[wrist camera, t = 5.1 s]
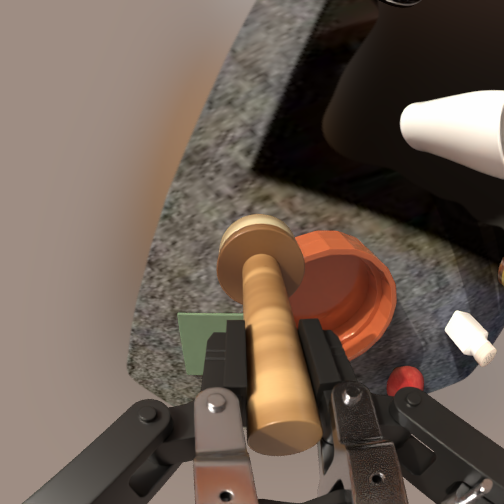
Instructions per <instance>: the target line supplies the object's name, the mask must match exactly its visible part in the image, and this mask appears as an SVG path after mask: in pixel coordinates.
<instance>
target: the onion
mask: <svg viewBox="0 0 504 504" xmlns="http://www.w3.org/2000/svg"><path fill="white" fill-rule="evenodd" d="M404 387H415V388H418V389H420V390H422V391H423V389H424V378H423V376H422V374H421V372H420V371H419V370H418V369H416V368H414V367H411V366H402V367H396V368H395V369H394V370H393V372H392V373H391V375H390V377H389V379H388V381H387V394H388V395H389V396H395V394H396V392H397V391H398V390H399V389H401V388H404Z"/></svg>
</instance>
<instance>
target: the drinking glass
mask: <svg viewBox="0 0 504 504" xmlns="http://www.w3.org/2000/svg"><path fill="white" fill-rule="evenodd" d="M400 128H401V132H402V135H403V137H404V139H405V140H406V142H407V143H408V144H409V145H410V146H411V147H412V148H414V149H416V150H419V151H423V152H428V153H431V154H434V155H437V156H440V157H443V158H446V159H448V160H451V161H454V162H456V163H459V164H462V165H464V166H466V167H469V168H471V169H474V170H476V171H479V172H481V173H484V174H487V175H490V176H493V177H496V178H500V179H503V180H504V91H503V90H485V91H484V90H483V91H474V92H469V93H463V94H458V95H453V96H449V97H444V98H439V99H435V100H431V101H426V102H418V103H413V104H410V105H409V106H407V107H406V108H405V110H404V111H403V113H402V116H401V120H400Z"/></svg>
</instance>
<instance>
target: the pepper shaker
mask: <svg viewBox="0 0 504 504" xmlns="http://www.w3.org/2000/svg"><path fill="white" fill-rule="evenodd" d="M445 332H446V333H447V334H448V335H449V337H450V338H451V339H452V340H453V341H454V343H455V344H456V345H457V346H458V348H459V349H460V350H461V351H462V353H463V354H465V355H473V356H474V359H475V360H476V361H477V362H478V364H479V365H480V366H481V367H484V366H486V365H488V364H489V363H490V362H491V361H492V360H493V359H494V357H495V355H496V351H497V350H496V349H495V348H494V347H493V345H492V344H491V343H490V342H489V341H488V340H487V337H488V332H487V331H486V330H485V329H484V328H483V327H482V326H481V325H480V324H479V323H478V322H477V321H476V320H475V319H474V318H473V317H472V316H471V315H470V314H469V313H466V312H461V311H456V312H454V314H453V316H452V318H451V319H450V321H449V323H448V324H447V326H446V328H445Z"/></svg>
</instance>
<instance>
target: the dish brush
mask: <svg viewBox="0 0 504 504" xmlns="http://www.w3.org/2000/svg"><path fill="white" fill-rule="evenodd" d="M304 272H305V261H304V256H303V253H302V251H301V249H300V247H299V245H298V243H297V241H296V239H295V237H294V235H293V233H292V231H291V230H290V229H289V227H288V226H287V225H286V224H285V223H284V222H282V221H281V220H279V219H277V218H275V217H272V216H269V215H264V214H254V215H249V216H246V217H243V218H241V219H239V220H237V221H236V222H234V223H233V224H232V225H231V226H230V227H229V228H228V229H227V230H226V232H225V233H224V235H223V237H222V240H221V243H220V249H219V255H218V261H217V277H218V280H219V283H220V285H221V287H222V289H223V290H224V291H225V293H226V294H227V295H228V296H229V297H230V298H232V299H233V300H234V301H236V302H238V303H240V304H242V305H243V320H245V336H246V365H247V406H246V425H247V443H248V446H249V447H250V448H251V449H252V450H253V451H255V452H257V453H260V454H263V455H269V456H285V455H291V454H296V453H300V452H303V451H305V450H307V449H309V448H311V447H313V446H314V445H316V444H317V443H318V442H319V441H320V440H321V438H322V436H323V427H322V423H321V419H320V415H319V411H318V407H317V403H316V399H315V395H314V392H313V388H312V384H311V380H310V376H309V372H308V368H307V365H306V361H305V357H304V353H303V349H302V346H301V342H300V338H299V334H298V331H297V327H296V323H295V320H294V316H293V312H292V309H291V305H290V301H289V297H290V296H292V295H293V294H294V293H295V291H296V290H297V289H298V287H299V286H300V284H301V282H302V280H303V277H304Z"/></svg>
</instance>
